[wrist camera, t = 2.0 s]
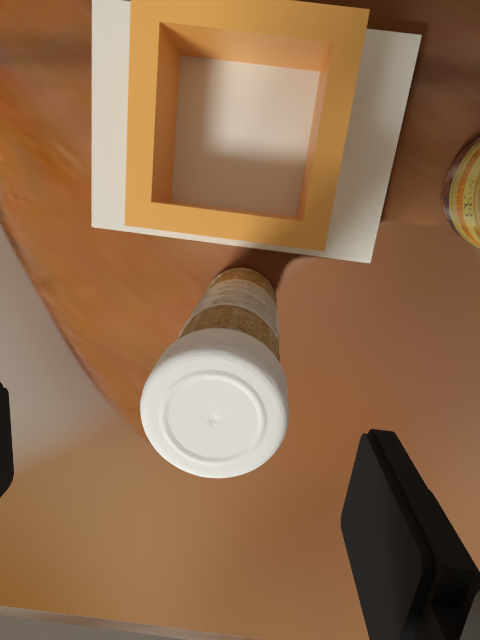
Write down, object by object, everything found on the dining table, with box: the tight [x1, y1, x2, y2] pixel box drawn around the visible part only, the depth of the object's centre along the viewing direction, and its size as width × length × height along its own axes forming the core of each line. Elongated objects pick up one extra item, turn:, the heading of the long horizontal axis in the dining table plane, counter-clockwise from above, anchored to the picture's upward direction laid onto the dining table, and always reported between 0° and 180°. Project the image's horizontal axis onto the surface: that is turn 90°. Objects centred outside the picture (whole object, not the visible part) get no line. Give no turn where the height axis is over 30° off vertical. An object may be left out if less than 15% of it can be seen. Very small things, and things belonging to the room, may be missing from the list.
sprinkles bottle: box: [140, 267, 289, 478], centre depth 18 cm, size 5×5×14 cm
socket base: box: [92, 0, 422, 263], centre depth 19 cm, size 16×11×5 cm
